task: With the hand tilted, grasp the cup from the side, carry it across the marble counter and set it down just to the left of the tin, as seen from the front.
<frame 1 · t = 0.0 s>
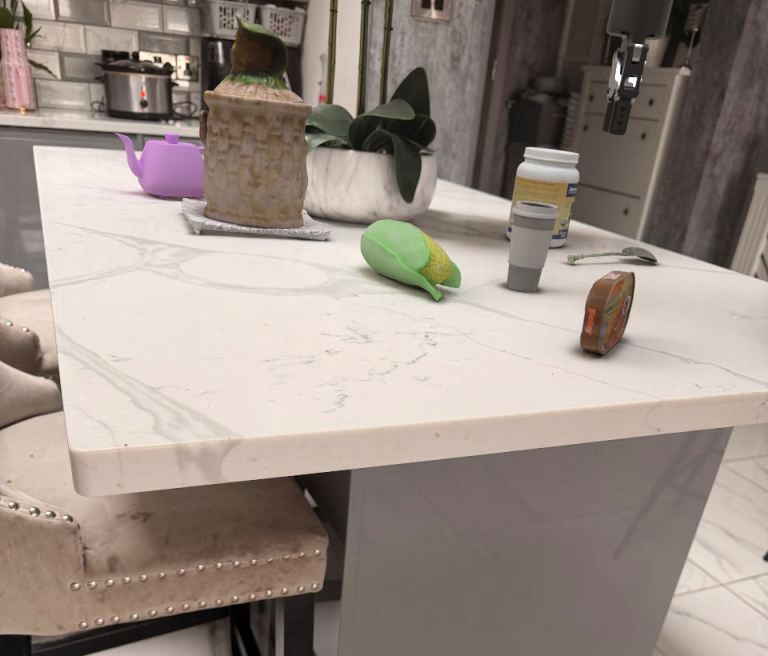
hand: (612, 133, 106), 22 cm above the table, tool pointing down, fingers open, 8 cm apart
teapot: (168, 197, 158), on the table
tin: (599, 346, 93), on the table
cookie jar: (253, 225, 139), on the table
supplement tub: (534, 243, 154), on the table
corn: (405, 284, 111), on the table
cup: (521, 289, 116), on the table
soupspoon: (610, 263, 143), on the table
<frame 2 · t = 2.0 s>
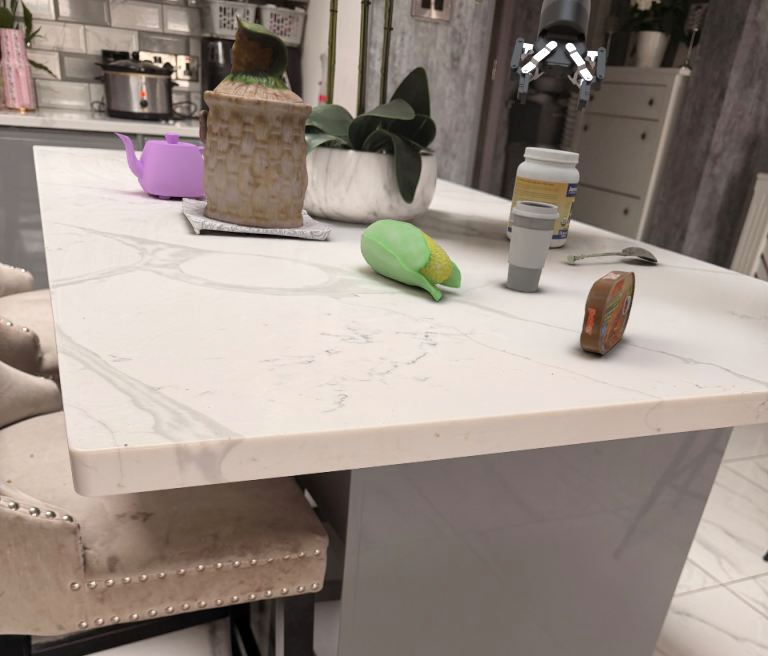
hand: (551, 103, 115), 25 cm above the table, tool tilted 45°, fingers open, 8 cm apart
nothing on the table moved.
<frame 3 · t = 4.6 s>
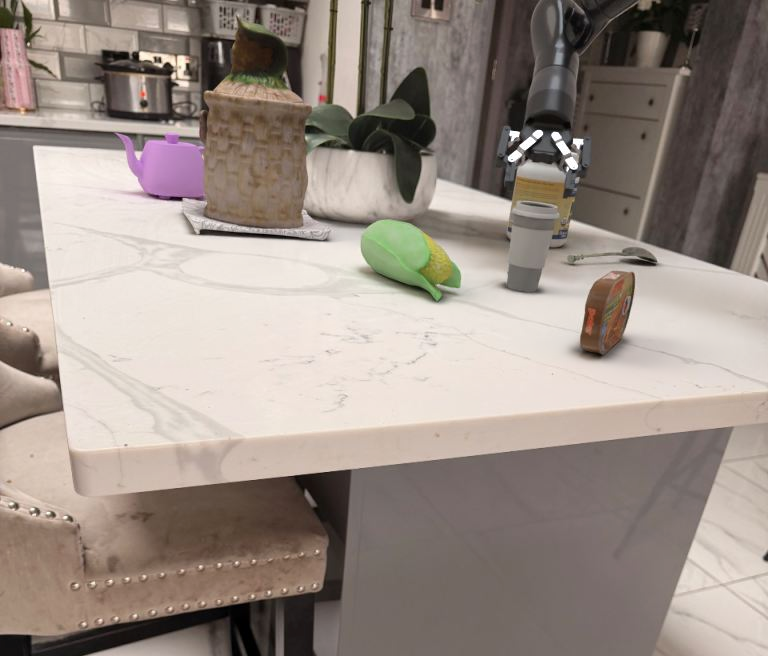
hand: (537, 191, 116), 13 cm above the table, tool tilted 45°, fingers open, 8 cm apart
nothing on the table moved.
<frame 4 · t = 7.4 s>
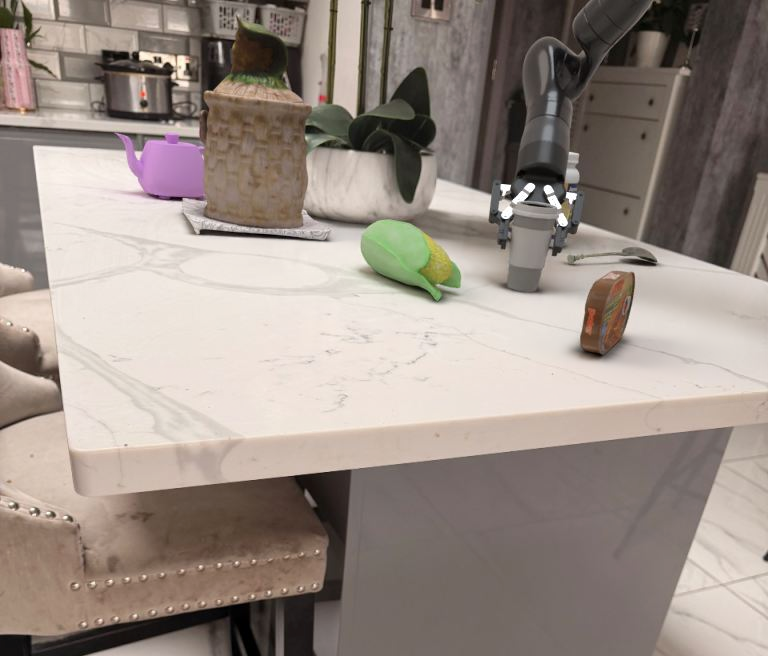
hand: (529, 249, 112), 6 cm above the table, tool tilted 45°, fingers closed on cup, 7 cm apart
cup: (521, 289, 116), on the table, touching gripper
everything else where it was.
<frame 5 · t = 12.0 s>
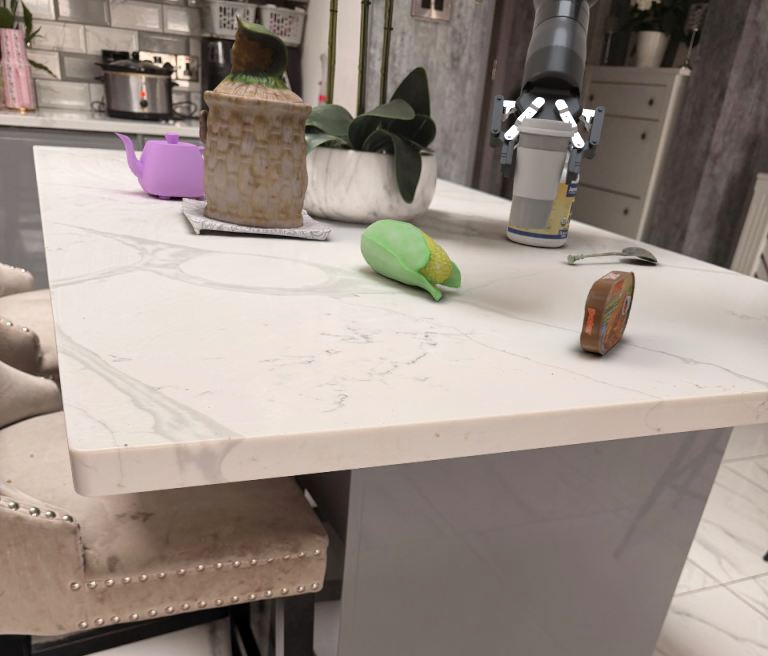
hand: (538, 176, 93), 17 cm above the table, tool tilted 45°, fingers closed on cup, 7 cm apart
cup: (528, 227, 97), point 11 cm above the table, touching gripper
everything else where it was.
when the fingers open (6 cm above the table, at t = 16.7 s): cup stays where it is, on the table.
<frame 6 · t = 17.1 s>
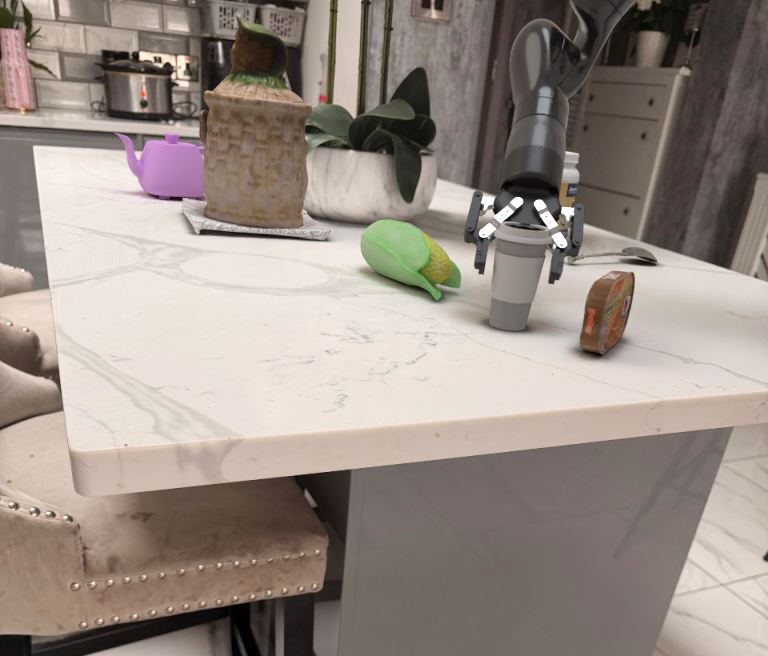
hand: (516, 275, 92), 7 cm above the table, tool tilted 45°, fingers open, 8 cm apart
cup: (506, 327, 97), on the table
everything else where it was.
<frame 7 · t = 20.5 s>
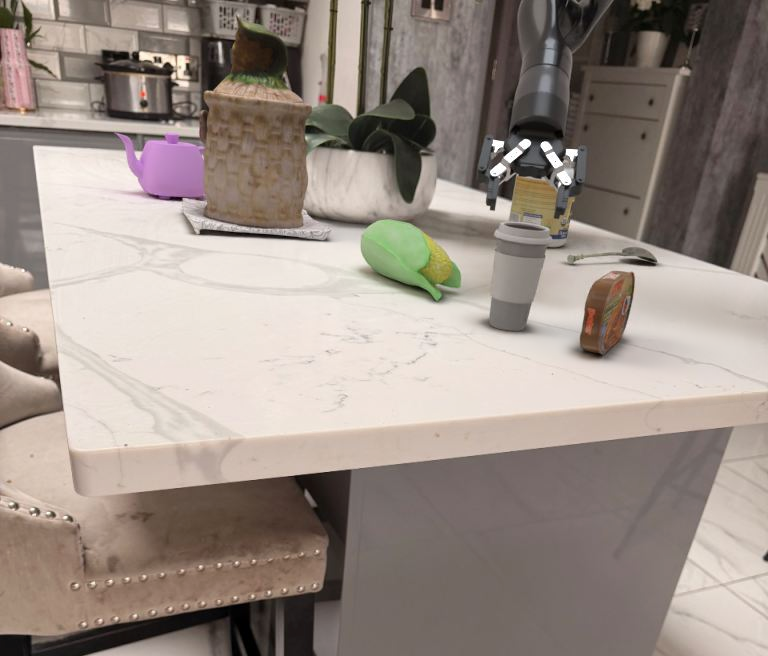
hand: (525, 210, 100), 12 cm above the table, tool tilted 45°, fingers open, 8 cm apart
nothing on the table moved.
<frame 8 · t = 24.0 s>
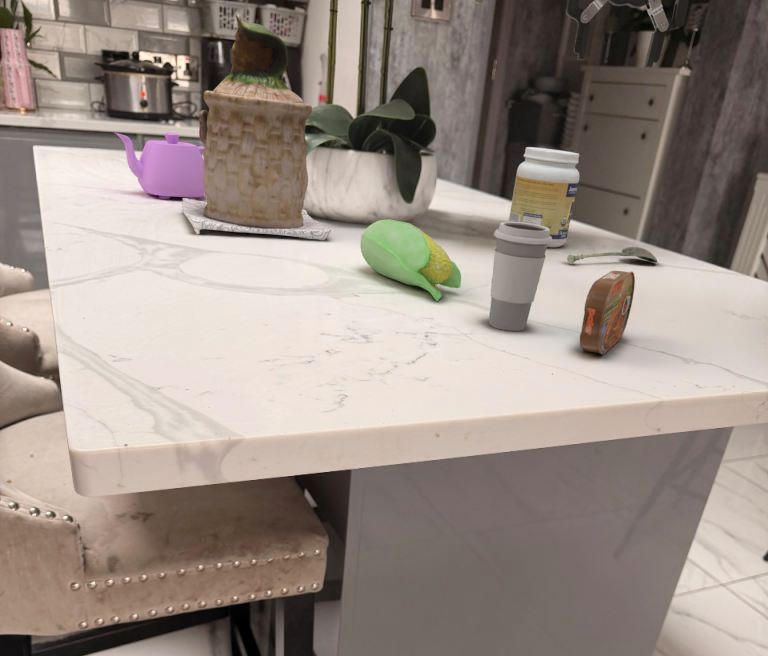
hand: (614, 63, 96), 30 cm above the table, tool pointing down, fingers open, 8 cm apart
nothing on the table moved.
at the end: cup inside the target area on the table beside the tin (0.8 cm from its centre), on the table; cup tilted 0°; tin moved 0.2 cm from its start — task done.
